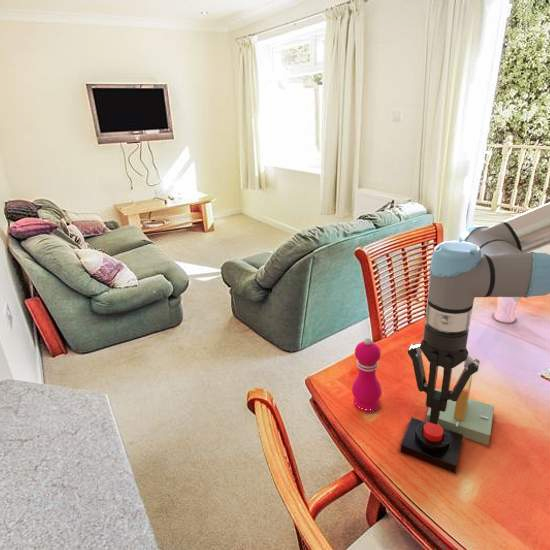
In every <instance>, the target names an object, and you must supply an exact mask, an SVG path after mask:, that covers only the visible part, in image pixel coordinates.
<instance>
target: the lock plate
mask: <svg viewBox="0 0 550 550" xmlns="http://www.w3.org/2000/svg"><path fill="white" fill-rule="evenodd" d="M435 390H436V391H440V392H441V389H438V388H435ZM455 405H456V401H452V400H448V401H447V407H446V410H445V412H443V411H440V416H439V419H438V424H441V425H442V426H443V427H445V428H446V429H448V430H450V431H453V432H456V433H459V434H462V435H463V438H465V439H467V440H470V441H473V442H476V443H479V444H482V445H485V446H489V443H490V440H491V433H492V428H493V427H492V425H493V418H494V411H495V405H493V404H489V403H486V402H484V401H479V400H476V399H474V398H473V399H472V398H468V403H467V407H466V411H465V415H464V420H463V421H460V420H457V419H454V411H455ZM430 413H431V408H430V407H428V410H427V413H426V418H425V422H429V421H430Z"/></svg>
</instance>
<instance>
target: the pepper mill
mask: <svg viewBox="0 0 550 550" xmlns="http://www.w3.org/2000/svg"><path fill="white" fill-rule="evenodd" d="M381 353H382V352H381V348H380V347H379V345H378V344H377V343H375V342H374V341H372V338H371V337H368V336H367V337H365V338H364V339H363V341H362V340H361V342H359V343H357V345H356V346H355V348H354V356H355V358H356V367H357V368H358V374H357V376H355V379H354V381H353V383H352V386H351V387H352V388H351V393H352V396H353V405H354V407H355V408H356V409H357V410H359V411H360V412H363V413H373V412H375V411H377V410H378V408H379V406H380V398H381V396H382V386H381V383H380V381H379V379H378V377H377V374H376V371H377V369H378V368H379V360H380V359H381ZM355 403H356V404H355ZM358 406H359V407H360V408H359V407H358ZM361 408H363V409H361ZM365 409H367V410H365ZM370 409H371V410H370Z"/></svg>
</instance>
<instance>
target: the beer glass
mask: <svg viewBox="0 0 550 550" xmlns="http://www.w3.org/2000/svg"><path fill="white" fill-rule="evenodd" d="M521 298H522V297H496V301H497V303H496V304H497V305H496V310H495V313H494V315H493V318H494V319H495V320H496V321H498V322H500V323H506V324H510V323H514V322H515V320H516V310H517V307H518V305H519V303H520V300H521Z"/></svg>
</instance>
